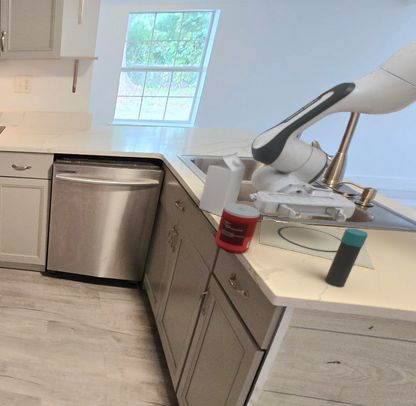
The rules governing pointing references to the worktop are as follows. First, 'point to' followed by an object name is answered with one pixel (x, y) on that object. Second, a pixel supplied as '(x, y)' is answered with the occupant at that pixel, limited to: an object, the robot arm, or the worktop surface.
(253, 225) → the canned food
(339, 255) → the marker
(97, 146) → the worktop surface
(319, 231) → the paper pad
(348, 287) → the worktop surface
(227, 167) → the milk carton
